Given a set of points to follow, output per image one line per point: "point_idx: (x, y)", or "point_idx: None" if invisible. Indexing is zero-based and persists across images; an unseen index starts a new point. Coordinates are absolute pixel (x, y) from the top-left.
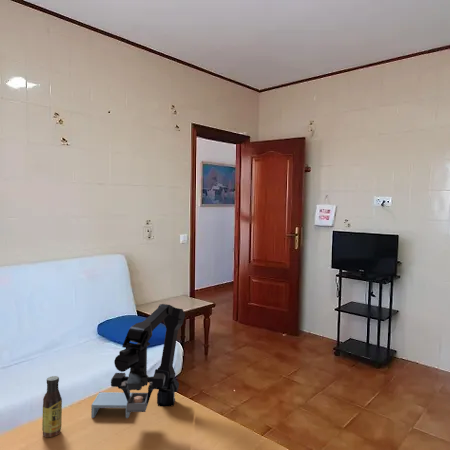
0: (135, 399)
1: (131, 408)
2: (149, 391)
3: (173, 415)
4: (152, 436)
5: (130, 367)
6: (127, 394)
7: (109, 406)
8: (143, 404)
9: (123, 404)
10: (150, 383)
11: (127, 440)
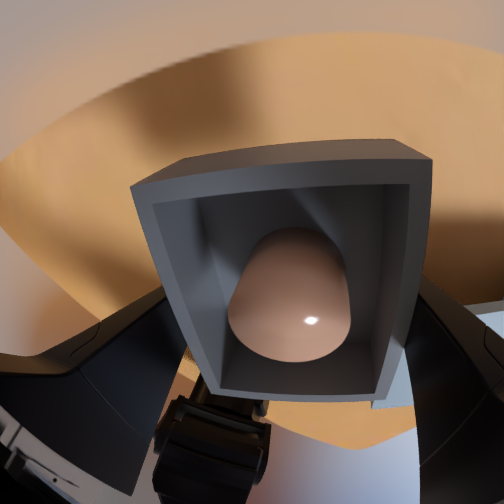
0: (320, 291)
1: (343, 145)
2: (67, 360)
3: None
4: (202, 131)
5: None
6: (462, 339)
7: (491, 307)
8: (156, 178)
9: None
10: (15, 454)
11: (331, 75)
